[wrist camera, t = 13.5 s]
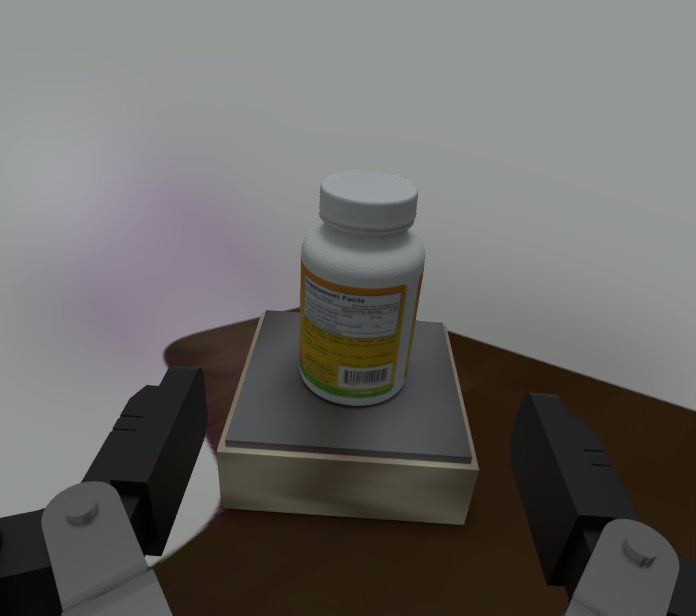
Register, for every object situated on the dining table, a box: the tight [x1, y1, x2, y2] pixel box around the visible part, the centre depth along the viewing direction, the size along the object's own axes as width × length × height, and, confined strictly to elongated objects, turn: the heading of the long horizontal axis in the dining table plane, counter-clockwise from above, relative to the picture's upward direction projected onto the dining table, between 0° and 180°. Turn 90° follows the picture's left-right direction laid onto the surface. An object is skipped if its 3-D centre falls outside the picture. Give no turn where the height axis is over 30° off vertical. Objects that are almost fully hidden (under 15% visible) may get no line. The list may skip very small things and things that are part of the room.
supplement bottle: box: [299, 171, 425, 406], centre depth 24 cm, size 5×5×10 cm
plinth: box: [217, 310, 479, 525], centre depth 28 cm, size 11×11×4 cm
